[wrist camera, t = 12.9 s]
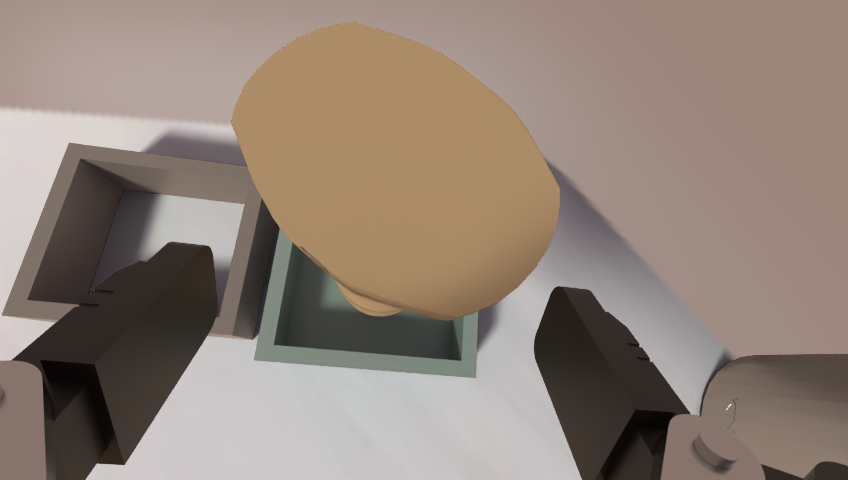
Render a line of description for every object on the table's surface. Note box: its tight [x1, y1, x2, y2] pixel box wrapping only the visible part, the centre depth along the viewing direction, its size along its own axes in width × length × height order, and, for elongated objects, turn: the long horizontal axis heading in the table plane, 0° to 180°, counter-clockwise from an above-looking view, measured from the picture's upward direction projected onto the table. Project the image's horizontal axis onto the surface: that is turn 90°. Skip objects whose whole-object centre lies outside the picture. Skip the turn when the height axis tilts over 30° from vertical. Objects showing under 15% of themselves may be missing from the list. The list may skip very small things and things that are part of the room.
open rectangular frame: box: [2, 143, 276, 340], centre depth 20 cm, size 9×8×4 cm
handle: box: [231, 22, 560, 321], centre depth 15 cm, size 5×6×15 cm
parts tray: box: [254, 229, 478, 378], centre depth 21 cm, size 10×9×3 cm
